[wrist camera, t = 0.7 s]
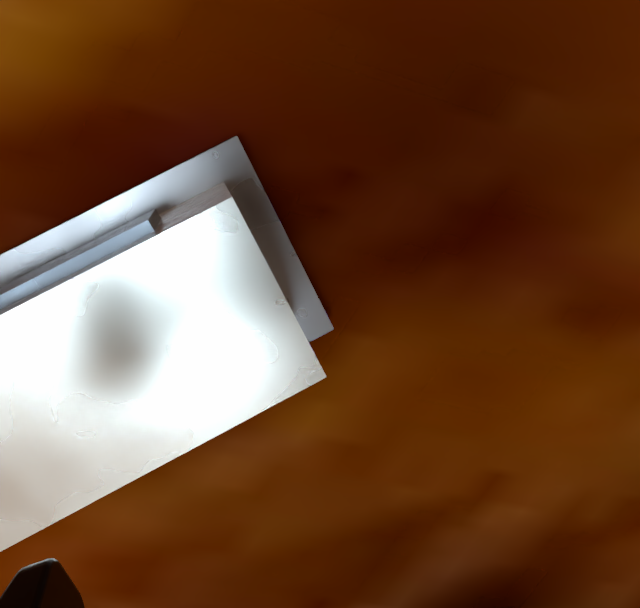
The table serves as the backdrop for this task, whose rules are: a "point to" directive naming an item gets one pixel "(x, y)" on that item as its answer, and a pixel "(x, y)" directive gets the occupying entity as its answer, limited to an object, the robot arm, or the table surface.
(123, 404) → the service unit
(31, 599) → the robot arm
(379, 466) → the table surface
